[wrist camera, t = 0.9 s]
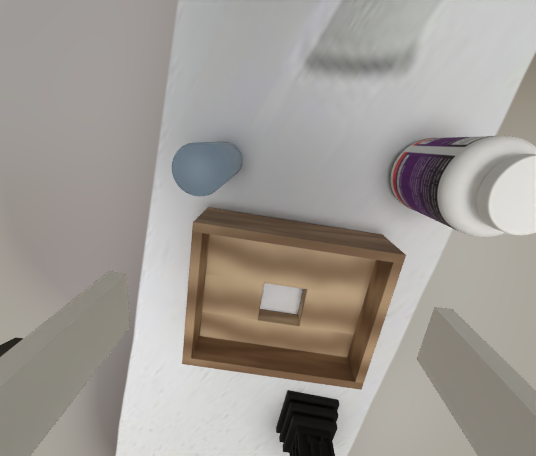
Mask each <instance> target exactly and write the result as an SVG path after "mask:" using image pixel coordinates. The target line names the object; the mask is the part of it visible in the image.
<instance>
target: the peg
mask: <svg viewBox="0 0 536 456" xmlns="http://www.w3.org/2000/svg"><path fill="white" fill-rule="evenodd" d="M241 166H242V155H241V152H240V151H239V149H238V148H237V147H236V146H235V145H233V144H231V143H228V142H203V143H190V144H187V145H185V146H183V147H182V148H180V149H179V150H178V151H177V153H176V154H175V156H174V158H173V162H172V173H173V177H174V179H175V181H176V183H177V184H178V186H179V187H180V188H181V189H182V190H184V191H185V192H186V193H188V194H191V195H194V196H207V195H210V194H212V193H213V192H215V191H216V190H217V189H219V188H220V187H221V186H222V185H223V184H224V183H226V182H227V181H228V180H229V179H230V178H232V177H233V176H234V175H235V174H236V173H238V171H239V170H240V168H241Z"/></svg>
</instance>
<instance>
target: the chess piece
mask: <svg viewBox="0 0 536 456" xmlns="http://www.w3.org/2000/svg"><path fill="white" fill-rule="evenodd" d="M338 407H339V401H338V400H336V399H331V398H325V397H320V396H315V395H310V394H304V393H299V392H294V391H289V390H288V391H287V395H286V398H285V401H284V404H283V408H282V411H281V414H280V417H279V421H278V424H277V427H276V433H280V436H279V439H280V442H284V444H283V452H288V453H290V456H335V454H334V448H333V443H332V440H333V438H334V435H335V433H336V430H337V425H336V421H337V418H338V412H337V409H338Z"/></svg>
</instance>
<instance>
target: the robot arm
mask: <svg viewBox="0 0 536 456" xmlns="http://www.w3.org/2000/svg"><path fill="white" fill-rule="evenodd" d="M129 328H130V319H129V302H128V286H127V273H123V272H114V271H108V272H107V273H106V274H104V275H103V276H102V277H101V278H99V279H98V280H97V281H95V282H94V283H93V284H92V285H91V286H89V287H88V288H87V289H85V290H84V291H83V292H82V293H80V294H79V295H78V296H77V297H75V298H74V299H73V300H72V301H70V302H69V303H68V304H67V305H65V306H64V307H63V308H61V309H60V310H59V311H58V312H56V313H55V314H54V315H53V316H51V317H50V318H49V319H48V320H46V321H45V322H44V323H43V324H41V325H40V326H39V327H38V328H36V329H35V330H34V331H32V332H31V333H30V334H29V335H28V336H26V337H25V338H24V339H23V338H14V339H12V340H10V341H8V342H6V343H4V344H2V345H0V456H30V455H31V454H32V453H33V452H34V450H35V449H36V448H37V447H38V445H39V444H40V442H41V441H42V440H43V439H44V437H45V436H46V435H47V434H48V432H49V431H50V430H51V428H52V427H53V426H54V425H55V423H56V422H57V421H58V419H59V418H60V417H61V416H62V414H63V413H64V412H65V410H66V409H67V408H68V406H69V405H70V404H71V402H72V401H73V400H74V399H75V397H76V396H77V395H78V394H79V392H80V391H81V390H82V388H83V387H84V386H85V384H86V383H87V382H88V381H89V379H90V378H91V377H92V376H93V374H94V373H95V372H96V370H97V369H98V368H99V367H100V365H101V364H102V363H103V361H104V360H105V358H106V357H107V356H108V355H109V354H110V352H111V351H112V350H113V348H114V347H115V346H116V345H117V343H118V342H119V341H120V339H121V338H122V337H123V336H124V334H125V333H126V332H127V330H128V329H129ZM417 360H418V362H419V363H420V365H421V366H422V368H423V370H424V371H425V372H426V374H427V376H428V377H429V379H430V381H431V382H432V384H433V385H434V387H435V389H436V390H437V392H438V393H439V395H440V396H441V398H442V400H443V401H444V403H445V404H446V406H447V407H448V409H449V411H450V412H451V414H452V416H453V417H454V419H455V420H456V422H457V423H458V425H459V427H460V428H461V430H462V431H463V433H464V435H465V436H466V438H467V439H468V441H469V442H470V444H471V446H472V447H473V449H474V451H475V452H476V454H477V455H478V456H536V391H535V390H534V389H533V388H532V387H531V386H530V385H529V384H528V383H527V382H526V381H525V380H524V379H523V378H522V377H521V376H520V375H519V374H518V373H517V372H516V371H515V370H514V369H513V368H512V367H511V366H510V365H509V364H508V363H507V362H506V361H505V360H504V359H503V358H502V357H501V356H500V355H499V354H498V353H497V352H496V351H495V350H493V348H491V347H490V345H489V344H488V343H486V341H484V340H483V339H482V338H481V337H480V336H479V335H478V334H477V333H476V332H475V331H474V330H473V329H472V328H471V327H470V326H469V325H468V324H467V323H466V322H465V321H464V320H463V319H462V318H461V317H460V316H459V315H458V314H457V313H456V312H455V311H454V310H453V309H447V308H438V307H434V310H433V313H432V316H431V319H430V322H429V325H428V328H427V331H426V333H425V336H424V339H423V342H422V345H421V348H420V351H419V354H418V357H417Z"/></svg>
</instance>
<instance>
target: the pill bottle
mask: <svg viewBox="0 0 536 456" xmlns="http://www.w3.org/2000/svg"><path fill="white" fill-rule="evenodd" d="M391 187H392V190H393V193H394V195H395V196H396V198H397V199H398V200H399V201H400V202H401V203H402V204H404V205H405V206H407V207H409V208H411V209H413V210H415V211H417V212H419V213H421V214H424V215H426V216H428V217H430V218H432V219H434V220H436V221H438V222H441V223H443V224H445V225H447V226H449V227H451V228H453V229H455V230H457V231H460V232H462V233H464V234H468V235H471V236H478V237H490V236H497V235H501V234H504V233H508V234H513V235H527V234H532V233H535V232H536V147H535V146H534V145H532V144H531V143H529V142H528V141H525V140H523V139H520V138H517V137H511V136H486V137H457V138H429V139H424V140H420V141H418V142H415V143H413V144H412V145H410V146H409V147H407V148H406V149H405V150H404V151H403V152H402V153H401V154H400V155H399V156H398V158H397V159H396V161H395V163H394V165H393V168H392V171H391Z"/></svg>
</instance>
